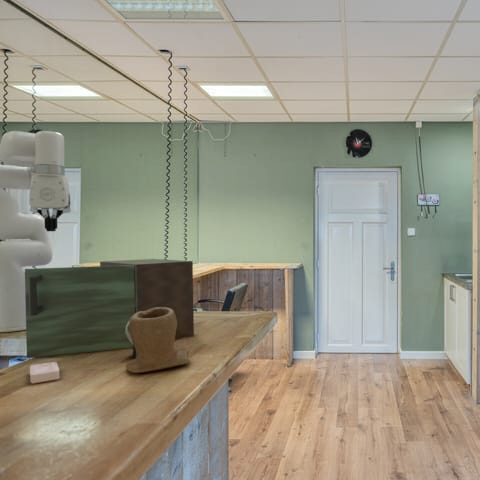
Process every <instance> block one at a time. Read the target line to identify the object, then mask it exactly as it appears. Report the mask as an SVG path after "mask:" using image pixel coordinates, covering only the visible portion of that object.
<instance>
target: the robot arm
mask: <svg viewBox="0 0 480 480" xmlns="http://www.w3.org/2000/svg"><path fill="white" fill-rule="evenodd" d="M0 162H2V163H3V164H0V239H1V240H2V241H0V333H10V332H21V331H26V301H25V270H23V269H22V268H25V267H38V266H40V267H41V266H47V265H49V264H50V263H51V262H52V260H53V249H52V248H53V247H52V243H51V239H50V233H49V232H56V231H57V230H56V229H58V219H59V218H60V217H61V216H62V215H64V214H69V213H71V212H72V209H71V204H72V202H71V191H70V184H69V180H68V177H67V176H66V175H65V174H66V173H65V171H66V169H65V167H66V166H65V137H64V135H63V134H62V133H60V132H56V131H52V130H51V131H50V130H41V131H40V130H39V131H37V132H35V133H34V132H28V131H27V132H26V131H20V130H11V131H8V132H5V133H3V135H2V137H1V140H0ZM5 189H8V190H23V191H24V190H25V191H29V194H28V204H29V207H30V208H29V211H30V213H22V212H21V211H20V208H19V203H18V200H17V199H16V198H15V197H14V196H13V195H12V194H10V193H9V192H8V191H6V190H5ZM51 209H52V212H51V213H50V210H51Z"/></svg>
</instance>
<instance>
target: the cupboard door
mask: <svg viewBox="0 0 480 480" xmlns="http://www.w3.org/2000/svg"><path fill="white" fill-rule="evenodd" d="M24 272H25V301H26V330H25V337H26V338H25V341H26V359H32V358H42V357H43V358H44V357H52V356H53V357H54V356H64V355H71V354H81V353H91V352H92V353H93V352H101V351H102V352H103V351H111V350H122V349H133V344H132V343H131V342H130V341H129V339H128V338H127V336H126V333H125V331H126V325H127V323H128V322H129V321H130V318H131V317H132V316H133V315H134V314H135V286H134V265H121V266H100V265H95V266H93V265H92V266H71V267H70V266H69V267H67V266H66V267H40V268H39V267H37V268H35V267H34V268H25V269H24ZM127 328H128V331H129V334H130V324H129V325H128V327H127Z"/></svg>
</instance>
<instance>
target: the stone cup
mask: <svg viewBox="0 0 480 480" xmlns="http://www.w3.org/2000/svg"><path fill="white" fill-rule="evenodd" d="M176 328H177V319H176V315H175V313H174V311H173V310H172V309H170V308H167V307H156V308H152V309H149V310H147V311H139V312H137V313H135V314H134V315H133V316H132V317H131V318H130V336H131V339H132V342H133V344H134V347H135V349H136V356H137V357H136V359H133V358H132V359H130V360H129V361H127V362H126V364H125V366H124V367H125V370H126V371H128V372H130V373H134V374H140V373H148V372H155V371H160V370H165V369H170V368H175V367H180V366H184V365H188V364H189V353H190V349H189V348H182V349H175V340H176V339H175V334H176Z"/></svg>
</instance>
